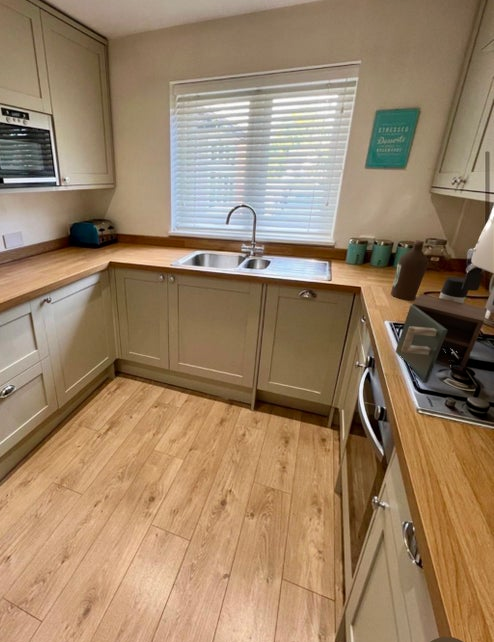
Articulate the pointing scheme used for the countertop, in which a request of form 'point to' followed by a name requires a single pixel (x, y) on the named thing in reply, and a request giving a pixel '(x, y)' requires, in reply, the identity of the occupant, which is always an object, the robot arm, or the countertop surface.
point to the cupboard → (453, 325)
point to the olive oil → (410, 273)
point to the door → (420, 342)
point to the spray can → (453, 290)
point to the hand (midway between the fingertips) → (484, 297)
